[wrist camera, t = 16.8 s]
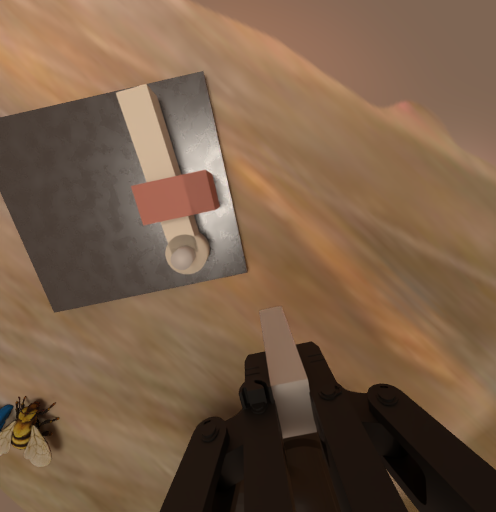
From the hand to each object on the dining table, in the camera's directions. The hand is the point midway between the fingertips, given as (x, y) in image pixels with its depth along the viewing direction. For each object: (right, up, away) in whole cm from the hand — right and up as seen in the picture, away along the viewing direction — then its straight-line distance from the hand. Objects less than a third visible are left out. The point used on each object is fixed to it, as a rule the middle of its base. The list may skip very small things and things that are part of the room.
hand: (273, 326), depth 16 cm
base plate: (-22, +13, +23) cm, 34 cm away
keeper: (-11, +14, +22) cm, 28 cm away
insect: (-44, -27, +33) cm, 61 cm away
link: (-13, +15, +21) cm, 29 cm away
